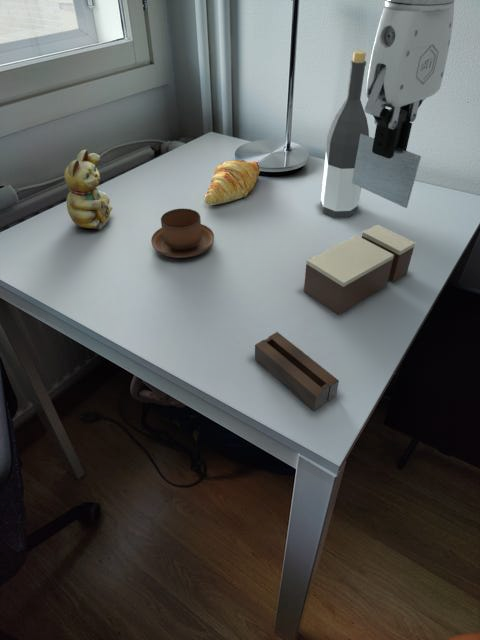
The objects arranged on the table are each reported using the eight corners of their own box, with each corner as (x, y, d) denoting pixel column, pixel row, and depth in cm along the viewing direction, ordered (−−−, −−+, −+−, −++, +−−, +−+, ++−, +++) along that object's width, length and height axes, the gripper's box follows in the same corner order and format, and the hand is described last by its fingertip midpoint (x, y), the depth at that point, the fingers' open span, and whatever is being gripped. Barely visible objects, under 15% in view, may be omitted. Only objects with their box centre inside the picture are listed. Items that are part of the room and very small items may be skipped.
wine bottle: (353, 221, 96) (380, 58, 76) (315, 214, 98) (331, 55, 78) (360, 203, 102) (386, 48, 82) (324, 198, 104) (341, 45, 84)
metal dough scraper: (410, 205, 66) (434, 119, 58) (402, 210, 65) (425, 123, 57) (356, 180, 72) (371, 99, 64) (348, 184, 71) (362, 102, 63)
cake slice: (406, 273, 82) (415, 242, 77) (392, 282, 80) (400, 251, 76) (371, 254, 86) (377, 224, 82) (357, 262, 85) (362, 231, 80)
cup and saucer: (153, 232, 94) (149, 204, 90) (212, 228, 95) (211, 200, 90) (151, 266, 85) (146, 236, 81) (216, 261, 86) (214, 232, 82)
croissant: (218, 226, 102) (232, 200, 96) (184, 197, 102) (195, 170, 96) (265, 186, 115) (279, 162, 109) (234, 161, 115) (247, 135, 109)
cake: (386, 286, 79) (394, 254, 75) (338, 315, 74) (343, 283, 69) (351, 265, 84) (356, 234, 80) (303, 291, 78) (306, 259, 74)
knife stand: (336, 395, 62) (339, 380, 60) (313, 411, 60) (316, 396, 58) (276, 346, 69) (277, 331, 67) (254, 359, 67) (254, 344, 65)
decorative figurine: (102, 236, 93) (85, 163, 83) (63, 234, 94) (41, 162, 84) (118, 212, 100) (103, 143, 90) (81, 211, 101) (63, 142, 91)
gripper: (406, 1, 46) (373, 177, 58) (489, -13, 53) (445, 145, 66) (348, -6, 50) (329, 159, 63) (433, -18, 58) (401, 131, 70)
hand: (388, 151), depth 64 cm, fingers closed on metal dough scraper, 2 cm apart
